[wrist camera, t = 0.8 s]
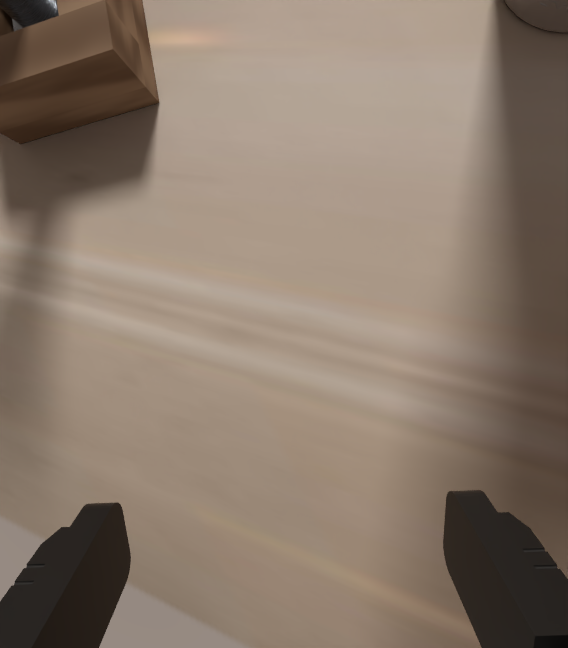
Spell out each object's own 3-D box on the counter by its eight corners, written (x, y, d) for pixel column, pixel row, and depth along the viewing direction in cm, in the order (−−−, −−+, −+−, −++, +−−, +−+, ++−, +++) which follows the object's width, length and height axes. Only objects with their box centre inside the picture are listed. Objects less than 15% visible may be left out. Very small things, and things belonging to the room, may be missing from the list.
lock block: (-1, 2, 34) (-76, -68, 29) (134, -48, 32) (83, -133, 26) (20, 143, 34) (-53, 102, 28) (159, 102, 32) (112, 48, 26)
